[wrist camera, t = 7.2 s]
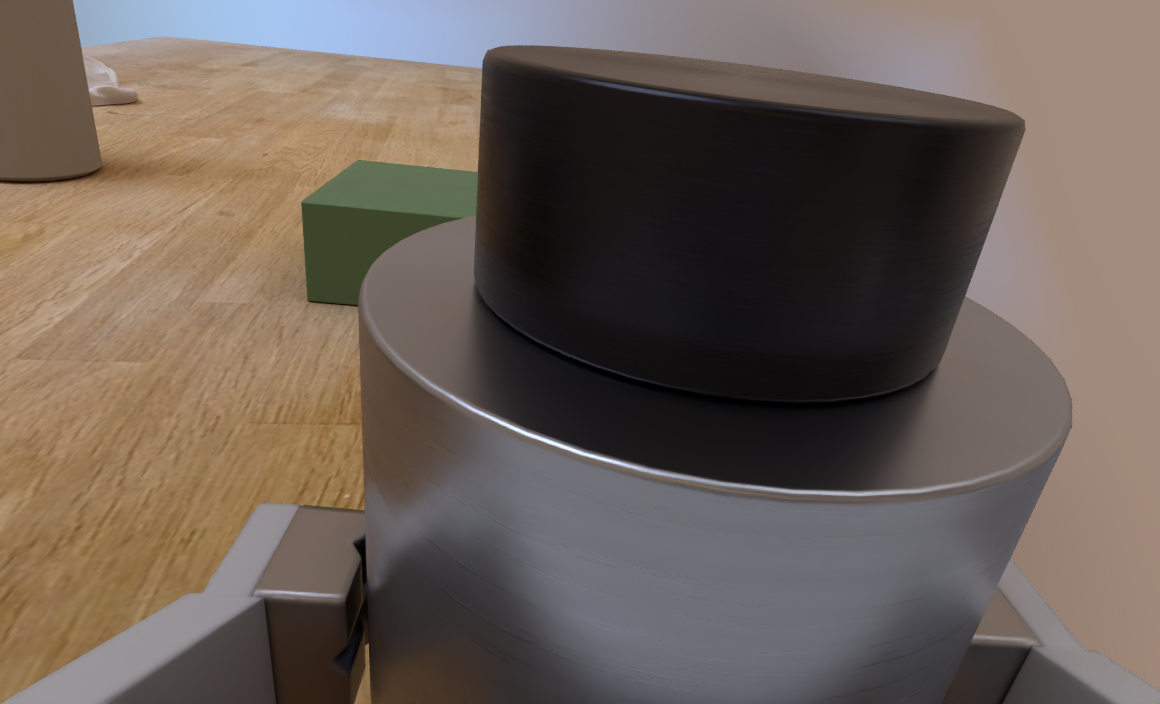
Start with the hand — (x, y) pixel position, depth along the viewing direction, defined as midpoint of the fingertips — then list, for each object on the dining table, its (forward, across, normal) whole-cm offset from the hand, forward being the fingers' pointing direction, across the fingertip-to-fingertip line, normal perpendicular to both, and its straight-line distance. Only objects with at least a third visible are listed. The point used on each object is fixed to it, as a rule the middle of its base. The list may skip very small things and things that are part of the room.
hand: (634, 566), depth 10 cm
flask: (-1, 0, +8) cm, 8 cm away
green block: (+31, +8, +8) cm, 33 cm away
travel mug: (+45, +38, +8) cm, 59 cm away
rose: (+75, +52, +8) cm, 91 cm away
